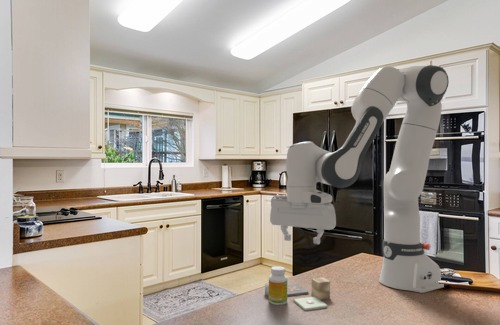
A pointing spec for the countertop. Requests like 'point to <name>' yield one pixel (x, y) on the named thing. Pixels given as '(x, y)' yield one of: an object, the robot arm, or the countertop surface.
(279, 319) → the countertop surface
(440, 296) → the countertop surface
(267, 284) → the light grey dome
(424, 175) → the robot arm
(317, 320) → the countertop surface
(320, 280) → the block
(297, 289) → the pad
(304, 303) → the pad
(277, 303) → the supplement bottle
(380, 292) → the countertop surface
